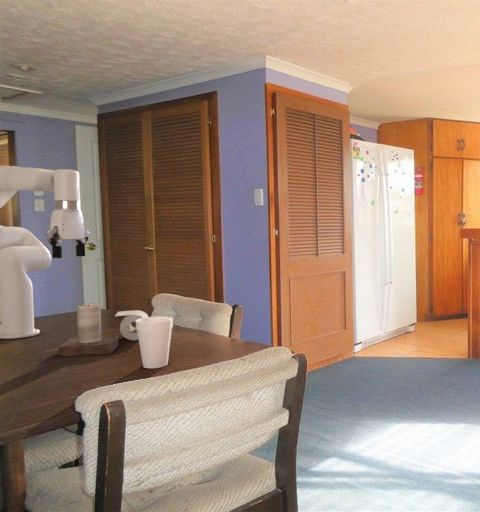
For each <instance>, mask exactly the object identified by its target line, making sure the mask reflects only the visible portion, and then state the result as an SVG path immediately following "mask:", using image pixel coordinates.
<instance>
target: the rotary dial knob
mask: <svg viewBox="0 0 480 512" xmlns="http://www.w3.org/2000/svg"><path fill="white" fill-rule="evenodd" d="M101 309H102V307H101V304H93V303H88V304H81V305H78V306H76V316H77V320H76V321H77V338H78V342H79V343H93V342H98V341H101V340H102V339H101V337H102V312H101V311H102V310H101Z"/></svg>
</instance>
